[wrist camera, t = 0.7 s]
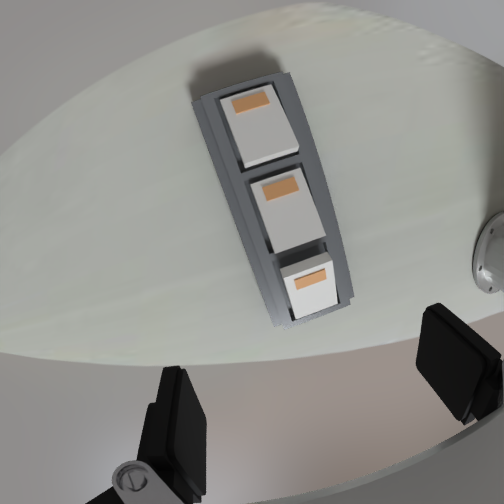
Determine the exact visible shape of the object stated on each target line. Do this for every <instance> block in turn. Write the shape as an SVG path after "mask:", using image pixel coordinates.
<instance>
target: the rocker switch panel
mask: <svg viewBox="0 0 504 504" xmlns="http://www.w3.org/2000/svg"><path fill="white" fill-rule="evenodd" d="M267 85H272V87H273V89H274V91H275V93H276V95H277V97H278V99H279V102H280V104H281V106H282V108H283V110H284V112H285V115H286V117H287V119H288V121H289V123H290V126H291V128H292V130H293V133H294V135H295V137H296V139H297V142H298V144H299V148H298V151H297V152H293V153H290V154H287V155H284V156H281V157H277V158H274V159H271V160H268V161H265V162H262V163H259V164H256V165H253V166H250V167H247V168H245V167H244V164H243V161H242V158H241V156H240V153H239V151H238V148H237V145H236V143H235V140H234V137H233V135H232V132H231V129H230V127H229V124H228V122H227V119H226V116H225V114H224V111H223V109H222V106H221V102H220V100H221V99H224V98H227V97H230V96H233V95H237V94H240V93H243V92H246V91H250V90H253V89H256V88H260V87H263V86H267ZM200 97H201V99H199V100H196V101H194V102H191V103H192V106H193V109H194V111H195V114H196V117H197V120H198V122H199V125H200V128H201V131H202V133H203V136H204V139H205V142H206V144H207V147H208V150H209V153H210V155H211V158H212V161H213V164H214V166H215V169H216V172H217V174H218V177H219V180H220V183H221V185H222V188H223V191H224V193H225V196H226V199H227V202H228V204H229V207H230V210H231V212H232V215H233V218H234V221H235V223H236V226H237V229H238V231H239V234H240V237H241V240H242V242H243V245H244V248H245V250H246V253H247V256H248V258H249V261H250V264H251V266H252V269H253V272H254V274H255V277H256V280H257V283H258V285H259V288H260V291H261V293H262V296H263V299H264V301H265V304H266V307H267V309H268V312H269V315H270V317H271V320H272V323H273V325H274V327H275V326H278V325H281V324H282V325H283V328H284V330H285V329H287V328H290V327H293V326H296V325H299V324H301V323H304V322H307V321H309V320H312V319H315V318H317V317H320V316H323V315H325V314H328V313H330V312H333V311H336V310H338V309H341V308H343V307H346V306H348V305H351V304H350V300H349V299H350V298H352V297H354V292H353V287H352V283H351V278H350V273H349V269H348V264H347V260H346V255H345V251H344V247H343V243H342V239H341V234H340V230H339V226H338V223H337V219H336V215H335V211H334V207H333V204H332V200H331V196H330V193H329V189H328V186H327V182H326V179H325V175H324V172H323V169H322V165H321V162H320V159H319V156H318V152H317V149H316V146H315V143H314V140H313V137H312V134H311V131H310V128H309V125H308V122H307V119H306V116H305V113H304V110H303V107H302V105H301V102H300V99H299V96H298V94H297V91H296V88H295V85H294V83H293V80H292V78H291V75H290V72H289V73H285V74H283V72H278V73H274V74H270V75H267V76H263V77H259V78H256V79H252V80H249V81H245V82H242V83H239V84H235V85H232V86H229V87H226V88H223V89H220V90H217V91H214V92H211V93H208V94H205V95H203V96H200ZM298 168H301V171H302V173H303V176H304V178H305V181H306V183H307V186H308V188H309V191H310V194H311V196H312V199H313V201H314V204H315V207H316V209H317V212H318V215H319V217H320V220H321V223H322V226H323V228H324V231H325V234H326V236H323V237H321V238H318V239H315V240H312V241H310V242H307V243H304V244H301V245H298V246H296V247H293V248H290V249H287V250H284V251H282V252H279V253H276V254H275V253H274V250H273V248H272V245H271V242H270V239H269V236H268V234H267V231H266V228H265V225H264V222H263V220H262V217H261V214H260V211H259V209H258V206H257V203H256V200H255V198H254V195H253V192H252V190H251V186H250V184H253V183H256V182H259V181H262V180H265V179H268V178H270V177H273V176H276V175H279V174H282V173H286V172H289V171H292V170H295V169H298ZM325 252H328V254H329V255H330V257H331V259H332V261H333V268H334V276H335V284H336V293H337V302H338V304H336V305H333V306H331V307H328V308H325V309H323V310H320V311H318V312H315V313H312V314H310V315H307V316H304V317H301V318H299V319H296V318H295V316H294V313H293V311H292V307H291V304H290V301H289V297H288V294H287V291H286V287H285V284H284V281H283V278H282V274H281V271H280V269H281V268H284V267H287V266H289V265H292V264H295V263H298V262H300V261H303V260H306V259H309V258H311V257H314V256H317V255H320V254H322V253H325Z"/></svg>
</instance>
